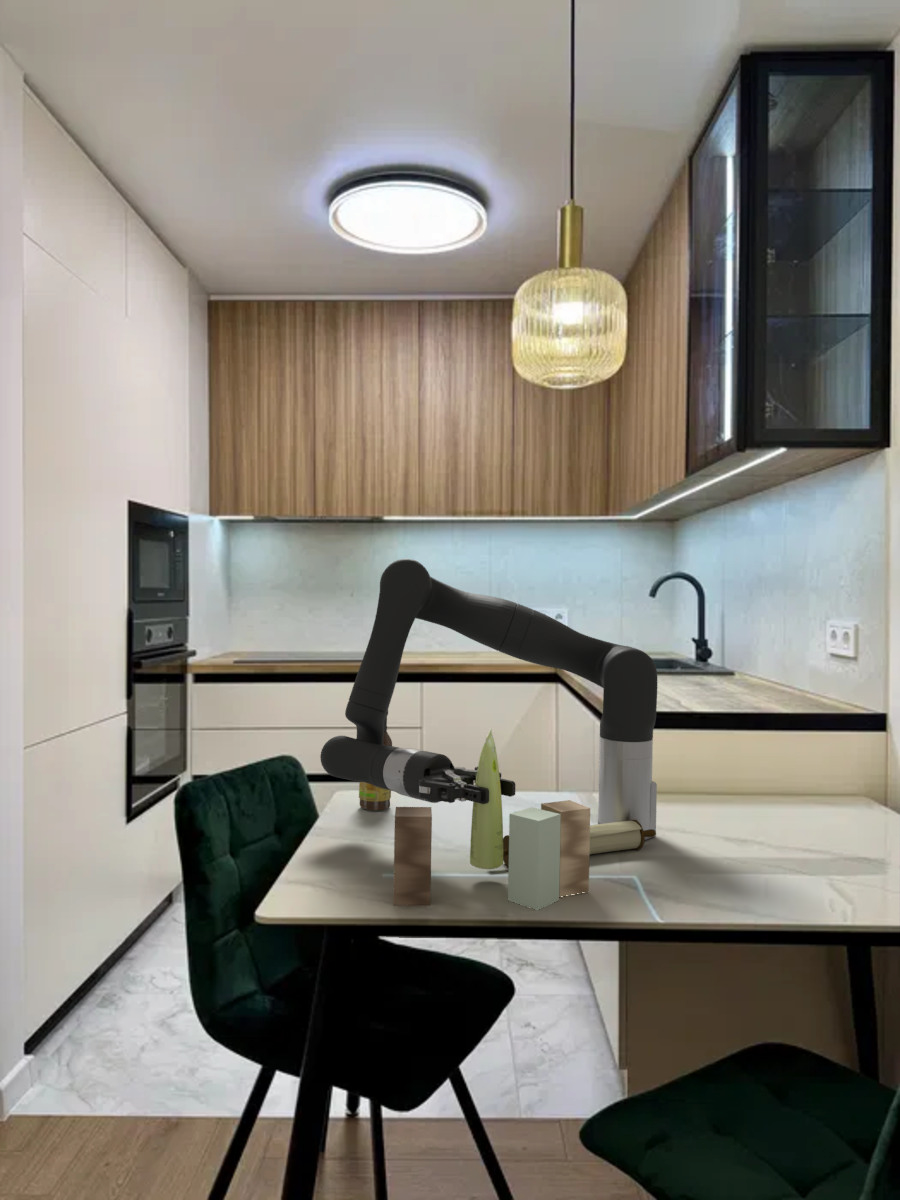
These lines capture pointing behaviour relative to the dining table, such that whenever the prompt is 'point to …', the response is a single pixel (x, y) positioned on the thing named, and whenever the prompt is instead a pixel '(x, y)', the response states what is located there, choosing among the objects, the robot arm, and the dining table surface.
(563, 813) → the oak block
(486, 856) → the tube
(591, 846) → the rolling pin
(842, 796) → the dining table surface
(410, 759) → the robot arm
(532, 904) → the sage block
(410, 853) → the walnut block
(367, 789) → the sauce bottle
